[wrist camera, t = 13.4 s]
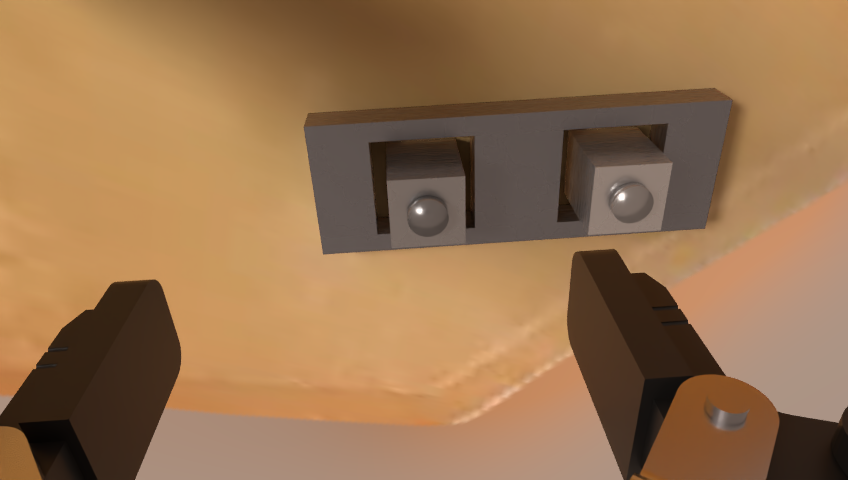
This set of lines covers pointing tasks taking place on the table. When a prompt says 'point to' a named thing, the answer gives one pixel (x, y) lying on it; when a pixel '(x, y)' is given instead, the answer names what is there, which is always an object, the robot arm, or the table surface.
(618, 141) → the cube with silver knob
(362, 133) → the grey slotted board
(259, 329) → the table surface
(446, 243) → the knobbed grey cube
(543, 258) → the table surface
